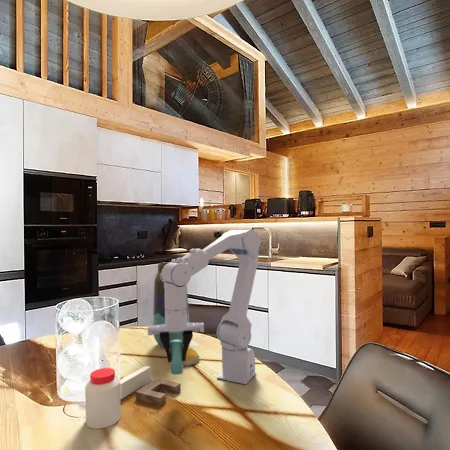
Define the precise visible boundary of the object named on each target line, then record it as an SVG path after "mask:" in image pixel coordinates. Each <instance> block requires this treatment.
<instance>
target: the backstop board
mask: <svg viewBox="0 0 450 450" xmlns="http://www.w3.org/2000/svg"><path fill="white" fill-rule="evenodd" d="M119 380H120V400H123V399H124V398H126V397H127V396H129V395H131V394H132V393H134V392H136V391H138V390H139V389H141V388H142V387H144V386H145V385H147V384H149V383H150V382H152V367H151V366H149V365H144V366H143V367H140V369H138V370H137V369H136V370H135V371H134V372H132V373H130V374H129V375H126V376H125V377H123V378H122V379H119Z"/></svg>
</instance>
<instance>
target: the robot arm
mask: <svg viewBox="0 0 450 450" xmlns="http://www.w3.org/2000/svg"><path fill="white" fill-rule="evenodd" d="M261 242H262V241H261V238H260V236H259V235H258V232H257V231H256V230H255V229H244V230H243V229H238V230H237V229H230V230H228V231H227V232H226V231H225V232H224V233H223V234H222V235H221V236H220V237H218V238H217V239H215V240H214V241H213V242H211V243H210V244H209V245H207V246H205V247H204V248H202V249H201V248H191V249H189V250H188V251H189V252H188V253H187V254H185V255H184V256H182V257H178V258H176V259H175V260H176V261H174V262H175V263H168V264H166V265H165V266H164V268H163V269H162V273H160V278H161V280H162V281H163V283H164V288H165V324H160V325H154V326H153V325H148V326H147V336H153V335H154V334H160V340H161V342H162V344H163V346H164V347H163V348H164V350H165V354H166V358H167V363H171V357H170V338H169V333H181V332H183V361H185V360H186V353H187V350H188V348H190V344H191V342H192V340H193V336H194V334H193V333H195V332H199V333H204V332H205V324H204V322H190V321H189V322H187V295H188V293H187V294H186V284H187V285H188V284H189V282H190V281H191V278H192V277H193V276H195V275H196V274H197V273H199V272H200V271H202V270H204V269H205V268H206V267H208V265H209V261H210V260H211V259H213V258H215V257H217V256H218V255H220V254H222V253H224V252H225V251H227V250H230V251H231V253H233V254H234V255H235V256H236V257H237V259H238V261H239V265H238V269H237V274H236V278H235V282H234V287H233V291H232V296H231V301H230V304H229V305H230V306H229V308H228V312H226V313H225V314H224V315H223V316H222V317H221V321H220V323H219V325H218V326H217V328H216V337H217V339H218V341H219V342H220V345H221V358H222V359H221V365H222V366H221V367H222V370H221V371H222V372H220V373H219V374H218V375H217V376H216V378H217V380H218V379H219V380H224V381H228V382H233V383H238V384H243V385H247V384H248V383H249V382H250V381H251V380H252V378H254V376H255V375H257V371H256V356H255V355H256V353H255V350H254V349H252V348H250V347H248V346H249V345H250V343H251V340H252V331H251V330H252V322H251V321H250V319H249V318H248V316H247V315H248V310H249V309H248V308H249V305H250V302H251V301H250V300H251V296H252V291H253V286H254V282H255V277H256V273H257V268H258V262H259V251H260V245H261Z"/></svg>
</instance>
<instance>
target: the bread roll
mask: <svg viewBox="0 0 450 450" xmlns="http://www.w3.org/2000/svg"><path fill="white" fill-rule="evenodd" d="M199 360H200V355H199V354H198V352H197V350H195V349H194V348H191V347H188V350H187V353H186V360H185V361H183V367H184V366H187V367H188V366H192V365H194V364H196V363H198V362H199Z"/></svg>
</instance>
